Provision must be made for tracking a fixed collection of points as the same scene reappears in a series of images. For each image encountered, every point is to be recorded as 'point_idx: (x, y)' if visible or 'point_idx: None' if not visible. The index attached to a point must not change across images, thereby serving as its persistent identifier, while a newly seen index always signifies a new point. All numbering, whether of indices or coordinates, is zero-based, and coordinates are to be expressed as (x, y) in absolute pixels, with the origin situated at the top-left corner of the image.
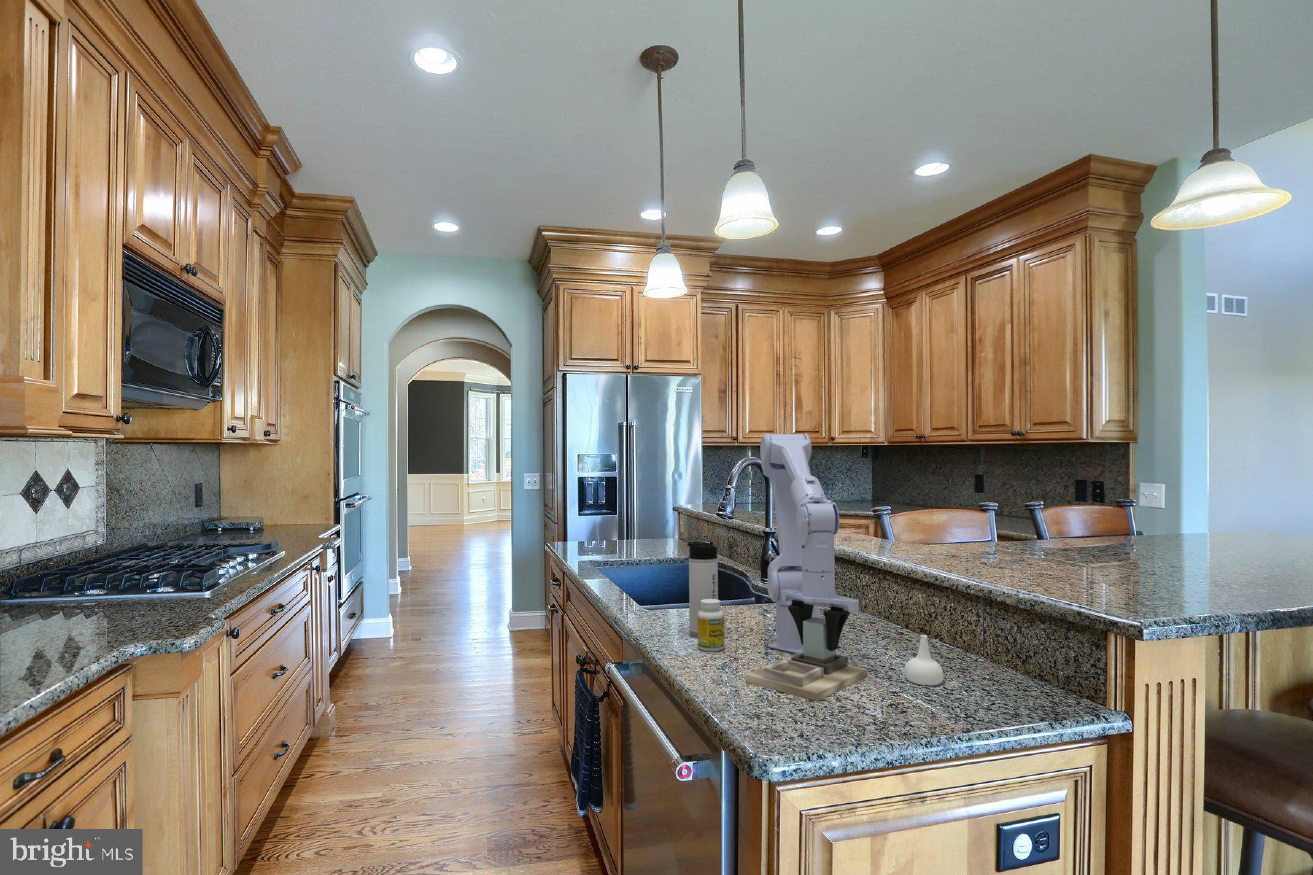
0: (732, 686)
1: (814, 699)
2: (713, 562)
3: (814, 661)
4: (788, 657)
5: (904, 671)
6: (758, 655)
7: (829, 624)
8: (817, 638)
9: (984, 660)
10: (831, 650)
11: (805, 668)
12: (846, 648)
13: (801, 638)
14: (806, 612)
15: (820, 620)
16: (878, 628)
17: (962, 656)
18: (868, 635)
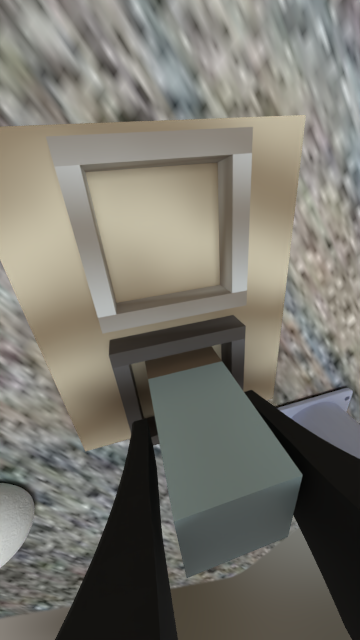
0: (295, 16)
1: None
2: None
3: (178, 363)
4: (275, 360)
5: (9, 501)
6: (344, 339)
7: (129, 549)
8: (188, 429)
9: (35, 609)
10: (134, 423)
11: (163, 301)
12: None
13: (261, 402)
14: (333, 544)
15: (237, 537)
16: (246, 557)
17: (73, 594)
18: None
